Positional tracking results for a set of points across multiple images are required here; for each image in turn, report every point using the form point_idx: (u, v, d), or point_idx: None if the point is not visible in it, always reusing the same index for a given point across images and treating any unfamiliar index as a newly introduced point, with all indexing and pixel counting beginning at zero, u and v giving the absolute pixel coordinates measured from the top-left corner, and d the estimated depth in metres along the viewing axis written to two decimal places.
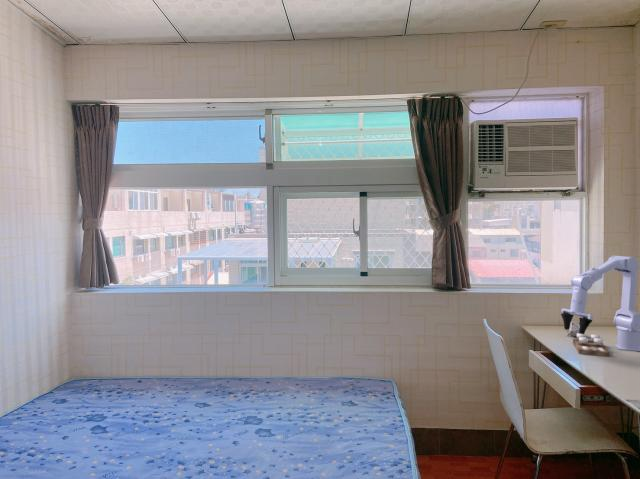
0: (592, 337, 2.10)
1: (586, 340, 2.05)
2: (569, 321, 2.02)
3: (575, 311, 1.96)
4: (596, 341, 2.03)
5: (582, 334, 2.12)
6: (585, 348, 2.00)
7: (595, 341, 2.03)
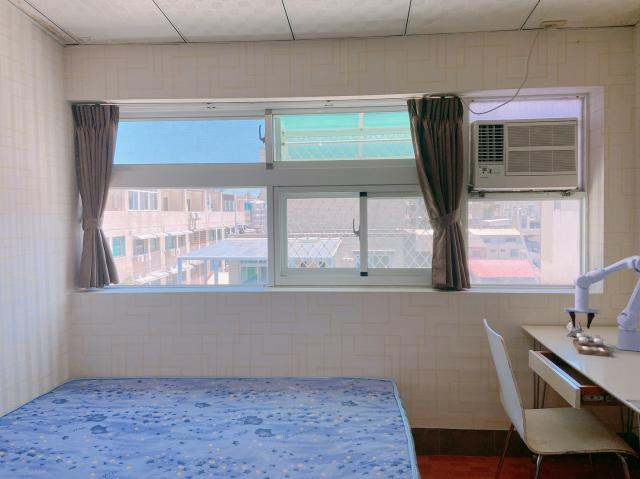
0: (592, 337, 2.10)
1: (586, 340, 2.05)
2: None
3: (585, 310, 2.09)
4: (596, 341, 2.03)
5: (582, 334, 2.12)
6: (585, 348, 2.00)
7: (595, 341, 2.03)
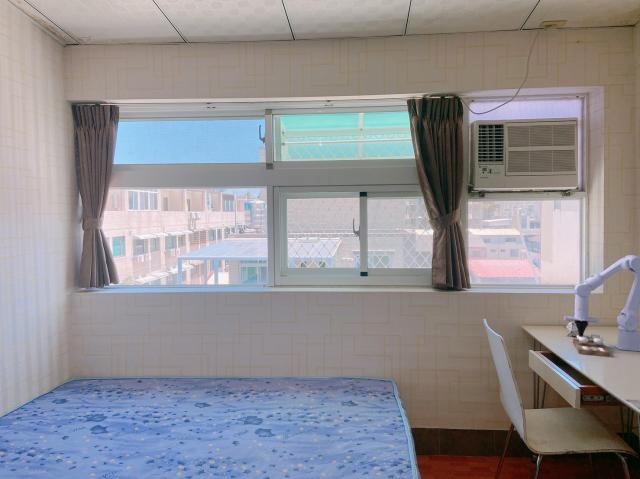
0: (592, 337, 2.10)
1: (586, 340, 2.05)
2: None
3: (585, 318, 2.09)
4: (596, 341, 2.03)
5: None
6: (585, 348, 2.00)
7: (595, 341, 2.03)
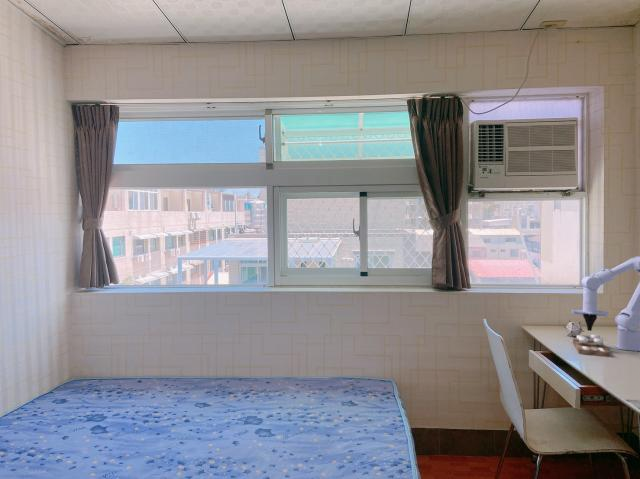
0: (592, 337, 2.10)
1: (586, 340, 2.05)
2: None
3: (593, 312, 2.05)
4: (596, 341, 2.03)
5: (582, 336, 2.12)
6: (585, 348, 2.00)
7: (595, 341, 2.03)
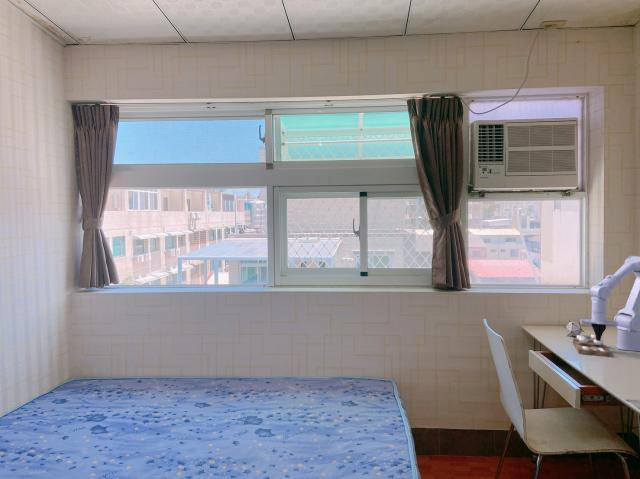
0: (592, 337, 2.10)
1: (586, 340, 2.05)
2: None
3: (603, 322, 2.01)
4: (596, 342, 2.03)
5: (582, 336, 2.12)
6: (585, 348, 2.00)
7: (595, 342, 2.03)
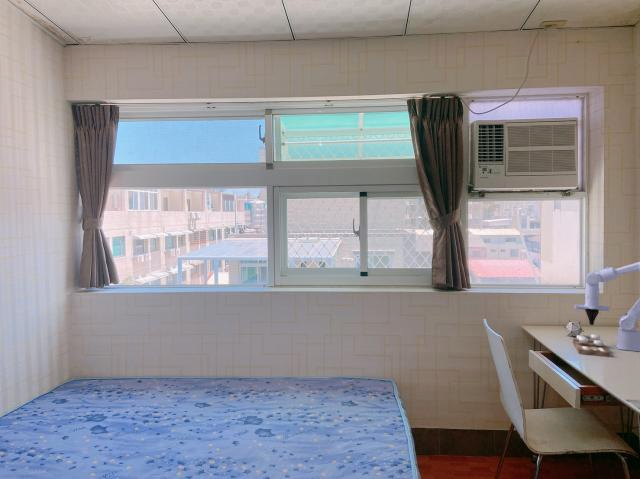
0: (592, 337, 2.10)
1: (586, 340, 2.05)
2: None
3: (596, 306, 2.11)
4: (596, 343, 2.03)
5: (582, 336, 2.12)
6: (585, 348, 2.00)
7: (595, 343, 2.03)
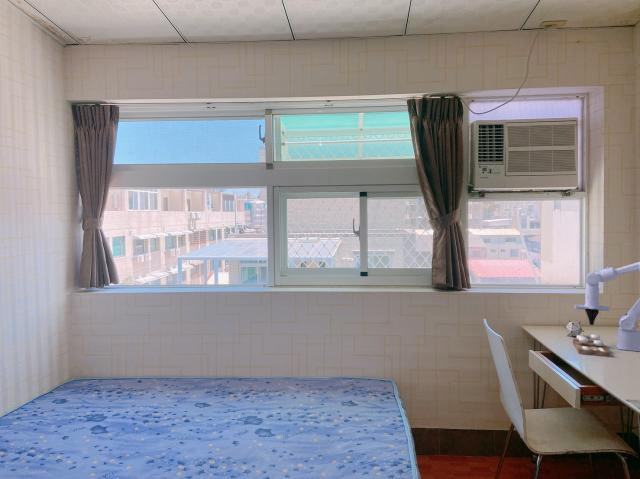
0: (592, 337, 2.10)
1: (586, 340, 2.05)
2: None
3: (596, 306, 2.11)
4: (596, 343, 2.03)
5: (582, 336, 2.12)
6: (585, 348, 2.00)
7: (595, 343, 2.03)
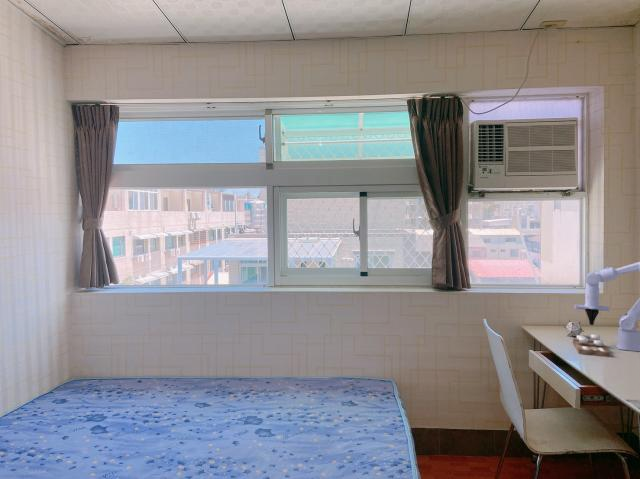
0: (592, 337, 2.10)
1: (586, 340, 2.05)
2: None
3: (596, 306, 2.11)
4: (596, 343, 2.03)
5: (582, 336, 2.12)
6: (585, 348, 2.00)
7: (595, 343, 2.03)
